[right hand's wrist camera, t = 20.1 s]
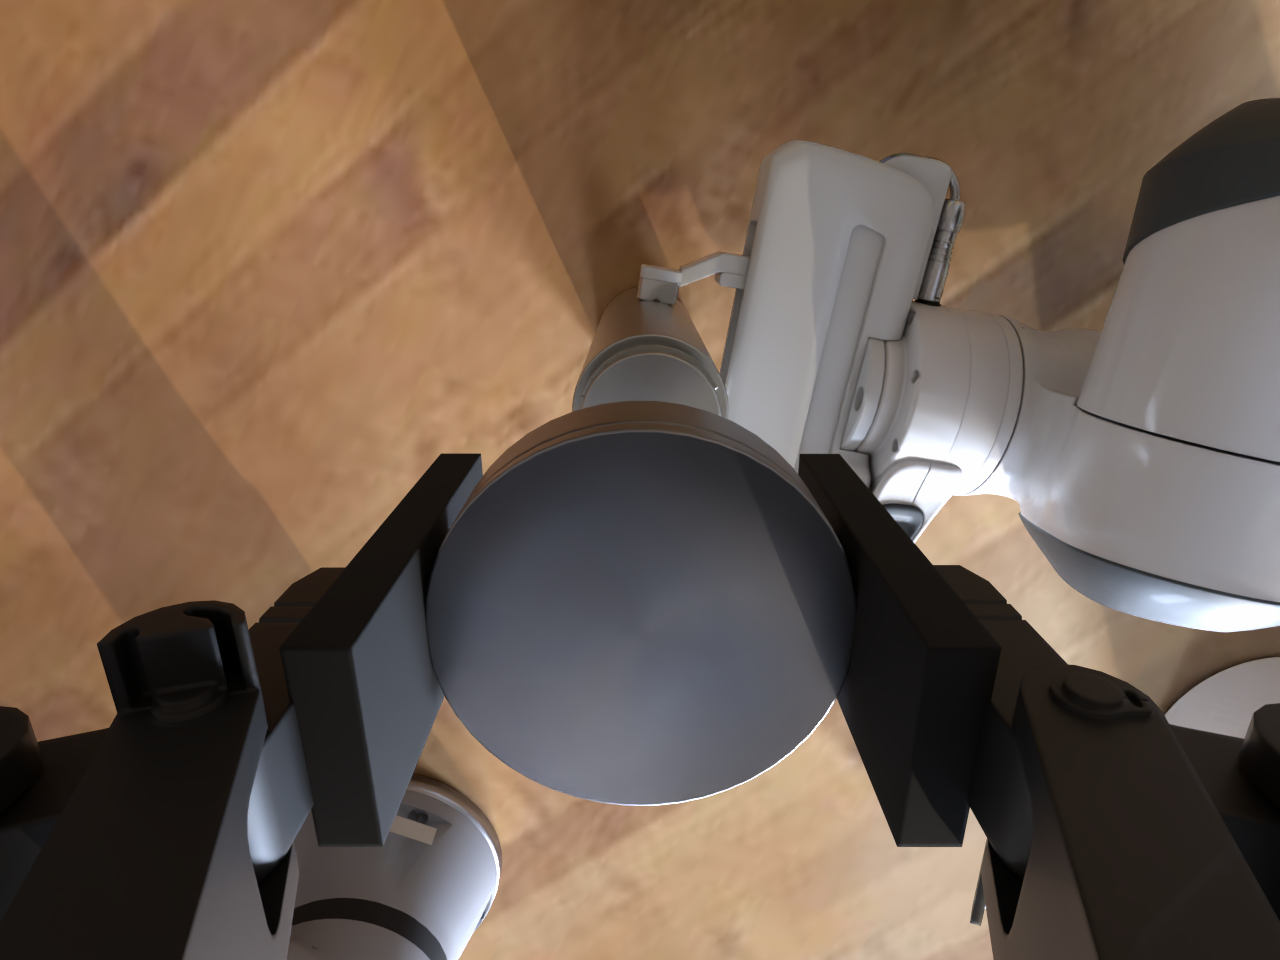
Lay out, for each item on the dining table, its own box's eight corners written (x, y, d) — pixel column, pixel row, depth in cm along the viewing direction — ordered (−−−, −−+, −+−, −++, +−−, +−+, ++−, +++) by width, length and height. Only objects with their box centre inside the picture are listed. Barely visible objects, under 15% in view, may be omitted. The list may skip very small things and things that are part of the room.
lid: (825, 728, 13) (850, 797, 11) (479, 745, 13) (457, 815, 11) (836, 386, 11) (868, 415, 9) (423, 411, 11) (387, 443, 9)
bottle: (608, 276, 39) (585, 323, 22) (701, 297, 40) (752, 360, 22) (590, 369, 41) (555, 482, 23) (680, 388, 41) (711, 514, 24)
